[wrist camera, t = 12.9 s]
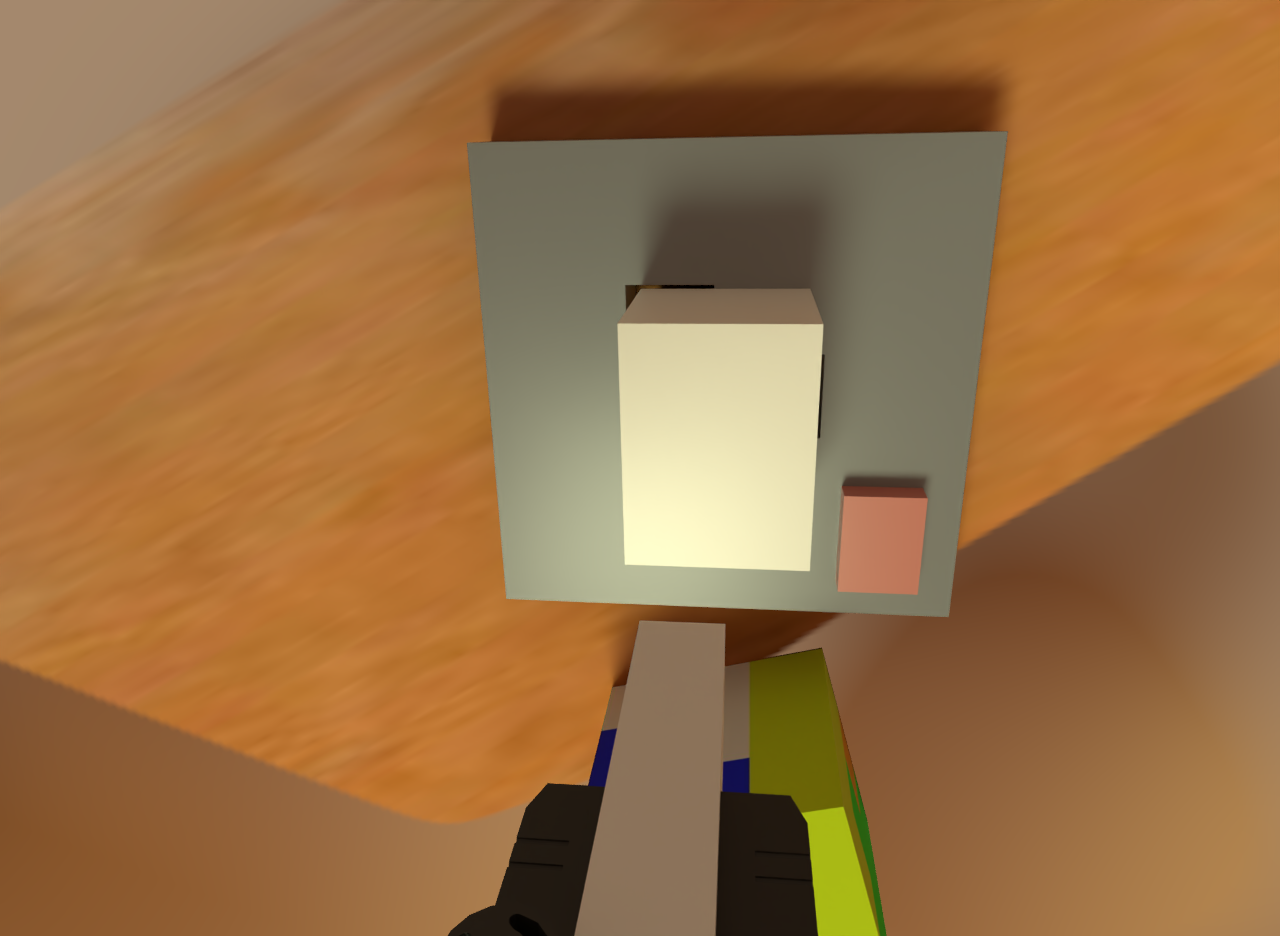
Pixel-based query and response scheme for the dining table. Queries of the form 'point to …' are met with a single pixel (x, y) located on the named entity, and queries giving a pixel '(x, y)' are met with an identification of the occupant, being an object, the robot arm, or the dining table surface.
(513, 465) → the socket plate
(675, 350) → the plug
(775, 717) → the puzzle toy
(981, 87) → the dining table surface
